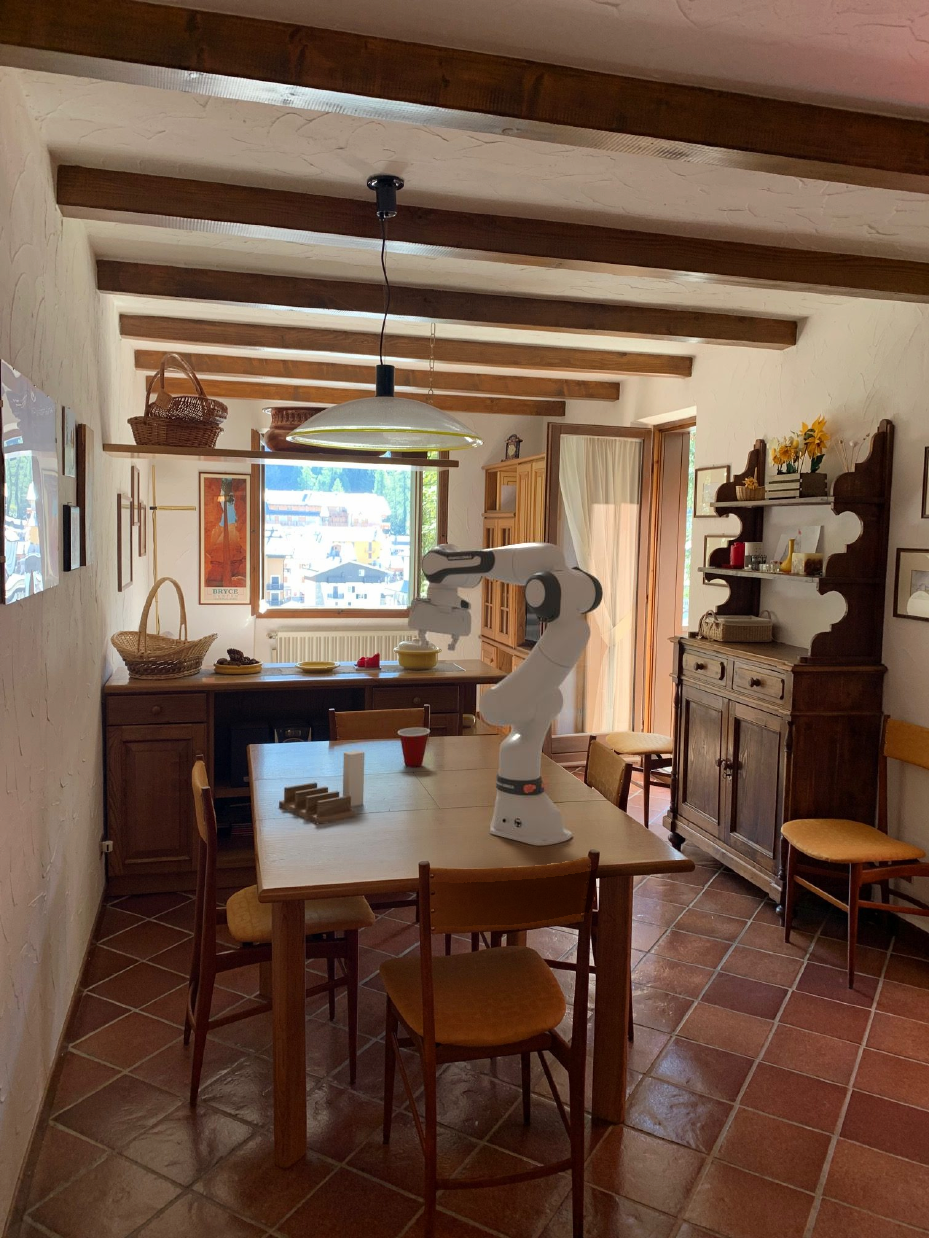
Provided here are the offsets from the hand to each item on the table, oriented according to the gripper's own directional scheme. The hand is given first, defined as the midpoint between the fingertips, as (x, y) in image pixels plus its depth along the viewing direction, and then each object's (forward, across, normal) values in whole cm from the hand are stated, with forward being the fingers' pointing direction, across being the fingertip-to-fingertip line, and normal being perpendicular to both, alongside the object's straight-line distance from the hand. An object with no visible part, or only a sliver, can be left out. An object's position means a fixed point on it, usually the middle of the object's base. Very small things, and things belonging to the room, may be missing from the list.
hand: (438, 648), depth 264 cm
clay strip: (+46, -15, +15) cm, 50 cm away
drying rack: (+48, -26, +14) cm, 56 cm away
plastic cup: (+36, +25, +45) cm, 63 cm away
